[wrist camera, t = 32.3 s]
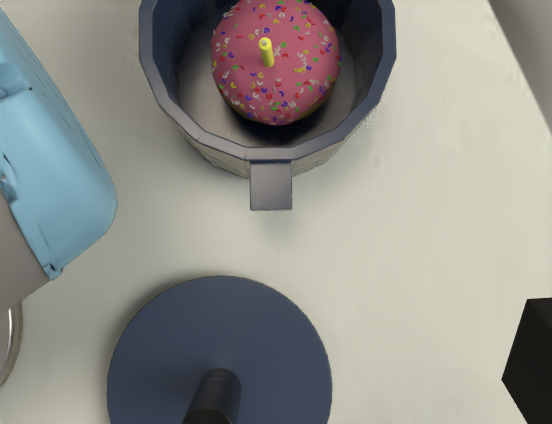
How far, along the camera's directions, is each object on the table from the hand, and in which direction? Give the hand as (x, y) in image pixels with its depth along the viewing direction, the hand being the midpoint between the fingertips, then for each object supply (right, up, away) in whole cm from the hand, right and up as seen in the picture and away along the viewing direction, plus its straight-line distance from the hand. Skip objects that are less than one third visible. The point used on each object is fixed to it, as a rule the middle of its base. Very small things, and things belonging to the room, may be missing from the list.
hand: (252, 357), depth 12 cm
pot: (0, +13, +25) cm, 28 cm away
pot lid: (-3, -9, +23) cm, 25 cm away
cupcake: (0, +13, +25) cm, 28 cm away
